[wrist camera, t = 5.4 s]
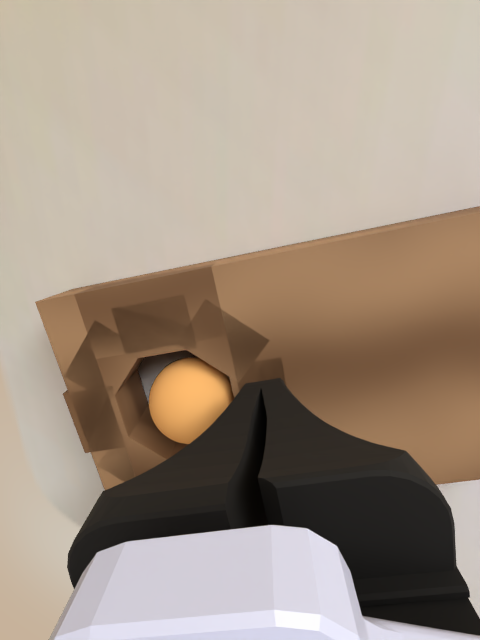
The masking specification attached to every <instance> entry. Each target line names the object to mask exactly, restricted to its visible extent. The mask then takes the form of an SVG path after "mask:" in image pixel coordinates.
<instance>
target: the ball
mask: <svg viewBox="0 0 480 640" xmlns="http://www.w3.org/2000/svg"><path fill="white" fill-rule="evenodd" d="M233 399H234V395H233V391H232V387H231V382H230V380H229V378H228V376H227V375H226V374H224V373H223V372H221V371H219V370H218V369H216V368H215V367H213V366H211V365H210V364H208V363H207V362H205V361H203V360H202V359H200V358H194V357H191V358H184V359H180V360H177V361H175V362H173V363H171V364H169V365H168V366H166V367H165V368H164V369H163V370H162V371H161V372H160V373H159V374H158V376H157V377H156V379H155V381H154V383H153V385H152V387H151V390H150V395H149V409H150V414H151V417H152V419H153V421H154V423H155V425H156V427H157V428H158V429H159V430H160V431H161V433H163V434H164V435H165V436H166V437H168V438H170V439H171V440H173V441H176V442H179V443H184V444H190V443H191V442H193V441H194V440H195V439H196V438H197V437H199V436H200V435H201V434H202V433H203V432H204V431H205V430H207V429H208V428H209V427H210V426H211V425H212V424H213V423H214V422H215V420H216V419H217V418H218V417H219V416H220V415H221V414H222V413H223V412H224V411H225V409H226V408H227V407H228V406H229V404H230V403H231V402H232V401H233Z"/></svg>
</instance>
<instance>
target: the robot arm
mask: <svg viewBox="0 0 480 640" xmlns="http://www.w3.org/2000/svg"><path fill="white" fill-rule="evenodd" d="M67 568H68V572H69V575H70V579H71V582H72V585H73V587H74V591H73V593H72V595H71V597H70V599H69V601H68V603H67V605H66V607H65V609H64V611H63V613H62V614H61V616H60V618H59V621H58V623H57V624H56V626H55V629H54V631H53V632H52V634H51V636H50V638H49V640H480V619H479V617H478V615H477V613H476V611H475V610H474V608H473V606H472V604H471V602H470V601H469V599H468V597H470V594H469V589H468V586H467V584H466V582H465V580H464V579H463V577H462V575H461V573H460V572H459V570H458V568H457V566H456V549H455V529H454V520H453V516H452V512H451V508H450V506H449V505H448V503H447V501H446V500H445V498H444V496H443V495H442V493H441V491H440V490H439V488H438V487H437V486H436V484H435V483H434V482H433V480H432V479H431V478H430V477H429V476H428V474H427V473H426V472H425V471H424V470H423V469H422V468H421V466H420V465H419V464H418V463H417V462H416V461H415V460H414V459H413V458H412V457H411V455H410V454H409V453H408V452H407V451H405V450H401V449H396V448H392V447H388V446H384V445H379V444H375V443H372V442H369V441H366V440H363V439H360V438H357V437H355V436H352V435H350V434H347V433H345V432H343V431H341V430H339V429H337V428H335V427H333V426H331V425H329V424H328V423H326V422H324V421H323V420H321V419H320V418H318V417H317V416H316V415H314V414H313V413H312V412H311V411H310V410H308V409H307V408H306V407H305V406H304V405H303V404H302V403H301V402H300V401H299V400H298V399H297V398H296V397H295V396H294V395H293V394H292V393H291V391H290V390H289V389H288V388H287V386H286V385H285V383H284V381H283V380H282V379H281V378H276V379H270V380H264V381H258V382H251V383H245V385H244V386H243V387H242V389H241V390H240V391H239V393H238V394H237V395H236V397H235V398H234V399H233V401H232V402H231V403H230V404H229V406H228V407H227V408H226V409H225V411H224V412H223V413H222V414H221V415H220V416H219V417H218V418H217V419H216V420H215V422H214V423H213V424H212V425H211V426H210V427H209V428H208V429H207V430H205V431H204V432H203V433H202V434H201V435H200V436H199V437H197V438H196V439H195V440H194V441H193V442H191V443H190V444H189V445H187V446H186V447H184V448H183V449H182V450H180V451H179V452H177V453H176V454H175V455H173V456H172V457H170V458H169V459H167V460H165V461H164V462H162V463H160V464H159V465H157V466H155V467H153V468H152V469H150V470H148V471H146V472H144V473H142V474H140V475H138V476H136V477H134V478H132V479H130V480H128V481H125V482H123V483H121V484H119V485H116V486H114V487H112V488H110V489H107V490H105V491H103V492H102V494H101V496H100V497H99V499H98V500H97V502H96V504H95V506H94V507H93V509H92V511H91V512H90V514H89V516H88V517H87V519H86V521H85V523H84V524H83V526H82V528H81V529H80V531H79V533H78V534H77V536H76V538H75V540H74V542H73V544H72V546H71V548H70V551H69V553H68V565H67Z"/></svg>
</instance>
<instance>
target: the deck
mask: <svg viewBox="0 0 480 640" xmlns="http://www.w3.org/2000/svg"><path fill="white" fill-rule="evenodd" d="M35 303H36V305H37V308H38V311H39V313H40V316H41V319H42V322H43V324H44V327H45V330H46V332H47V335H48V338H49V340H50V343H51V346H52V349H53V351H54V354H55V357H56V359H57V362H58V365H59V367H60V370H61V373H62V376H63V378H64V381H65V384H66V386H67V389H68V390H67V391H66V392H65V393H63V395H64V398H65V401H66V403H67V406H68V409H69V411H70V414H71V417H72V419H73V422H74V425H75V427H76V430H77V433H78V435H79V438H80V441H81V443H82V446H83V449H84V451H85V453H88V452H91V454H92V457H93V459H94V462H95V465H96V467H97V470H98V473H99V475H100V478H101V481H102V484H103V486H104V489H105V490H107V489H110V488H112V487H114V486H116V485H119V484H121V483H123V482H125V481H128V480H130V479H132V478H134V477H136V476H138V475H140V474H142V473H144V472H146V471H148V470H150V469H152V468H153V467H155V466H157V465H159V464H160V463H162V462H164V461H165V460H167V459H169V458H170V457H172V456H173V455H175V454H176V453H177V452H179V451H180V450H182V449H183V448H184V447H186V446H187V445H189V444H184V443H179V442H176V441H173V440H171V439H170V438H168V437H166V436H165V435H164V434H163V433H161V431H160V430H159V429H158V428H157V427H156V425H155V423H154V421H153V419H152V417H151V414H150V409H149V405H148V402H147V399H146V395H145V392H144V389H143V386H142V382H141V379H140V376H139V373H138V367H139V365H140V364H141V362H142V360H143V359H144V357H148V356H154V355H159V354H165V353H171V352H176V351H182V350H187V351H189V352H191V353H192V354H194V355H195V356H197V357H199V358H200V359H202V360H203V361H205V362H207V363H208V364H210V365H211V366H213V367H215V368H216V369H218V370H219V371H221V372H223V373H224V374H226V375H227V376H229V378H230V382H231V387H232V391H233V395H234V398H235V397H236V395H237V394H238V393H239V391H240V390H241V389H242V387H243V386H244V385H245V383H251V382H258V381H264V380H270V379H276V378H281V379H282V380H283V381H284V383H285V385H286V386H287V388H288V389H289V390H290V391H291V393H292V394H293V395H294V396H295V397H296V398H297V399H298V400H299V401H300V402H301V403H302V404H303V405H304V406H305V407H306V408H307V409H308V410H310V411H311V412H312V413H313V414H314V415H316V416H317V417H318V418H320V419H321V420H323V421H324V422H326V423H328V424H329V425H331V426H333V427H335V428H337V429H339V430H341V431H343V432H345V433H347V434H350V435H352V436H355V437H357V438H360V439H363V440H366V441H369V442H372V443H375V444H379V445H384V446H388V447H392V448H396V449H401V450H405V451H407V452H408V453H409V454H410V455H411V457H412V458H413V459H414V460H415V461H416V462H417V463H418V464H419V465H420V466H421V468H422V469H423V470H424V471H425V472H426V473H427V474H428V476H429V477H430V478H431V479H432V480H433V482H434V483H435V484H436V485H437V484H445V483H453V482H462V481H470V480H478V479H480V206H479V207H474V208H469V209H464V210H459V211H455V212H450V213H445V214H440V215H435V216H430V217H425V218H420V219H415V220H410V221H405V222H400V223H395V224H391V225H386V226H381V227H376V228H371V229H366V230H361V231H356V232H351V233H346V234H341V235H336V236H332V237H327V238H322V239H317V240H312V241H307V242H302V243H297V244H292V245H287V246H282V247H277V248H272V249H268V250H263V251H258V252H253V253H248V254H243V255H238V256H233V257H228V258H223V259H218V260H213V261H209V262H204V263H199V264H194V265H189V266H184V267H179V268H174V269H169V270H164V271H159V272H154V273H149V274H145V275H140V276H135V277H130V278H125V279H120V280H115V281H110V282H105V283H100V284H95V285H90V286H86V287H81V288H76V289H71V290H69V291H66V292H63V293H60V294H57V295H54V296H51V297H49V298H46V299H43V300H40V301H37V302H35Z"/></svg>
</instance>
